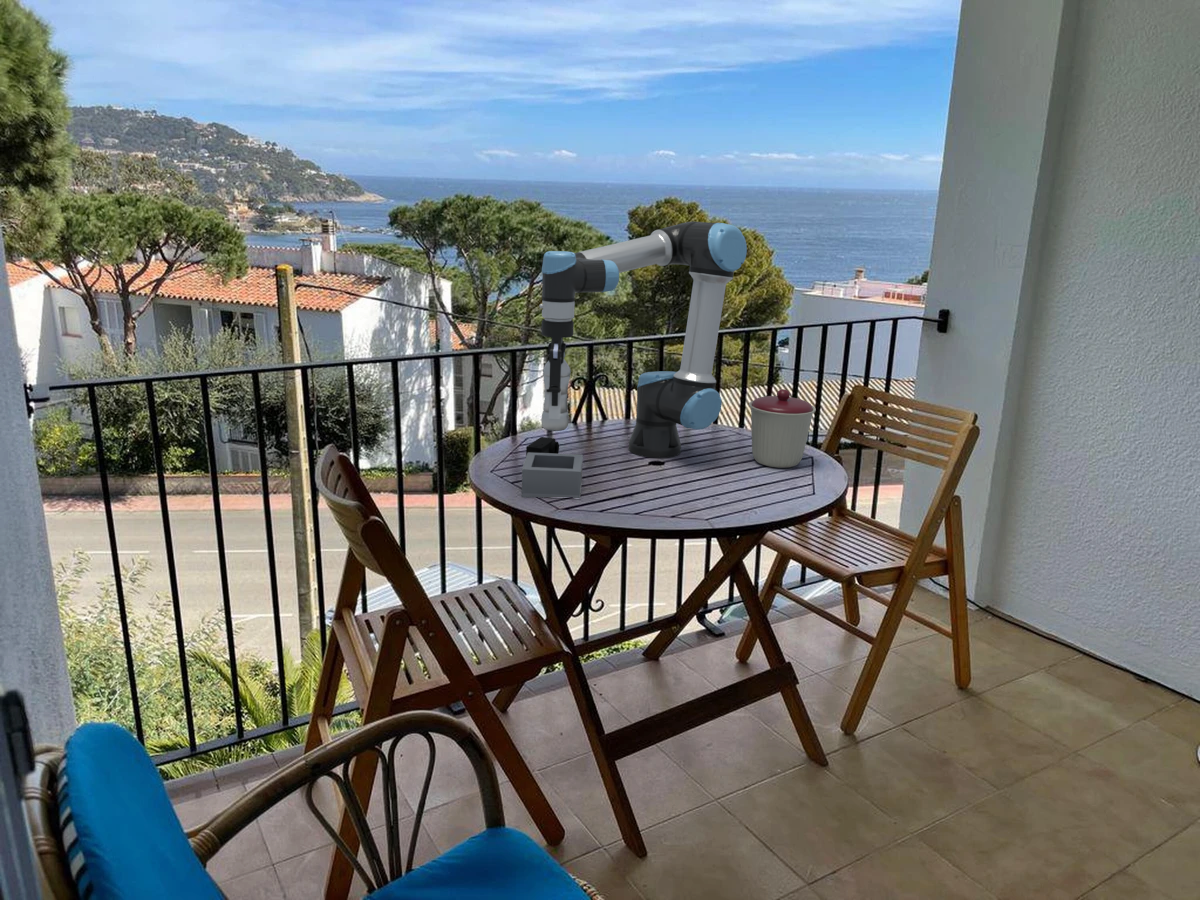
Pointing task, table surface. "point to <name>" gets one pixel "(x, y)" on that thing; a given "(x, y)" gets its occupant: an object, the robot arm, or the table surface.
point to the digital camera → (543, 446)
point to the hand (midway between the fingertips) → (555, 414)
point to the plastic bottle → (564, 417)
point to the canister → (780, 429)
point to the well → (552, 475)
